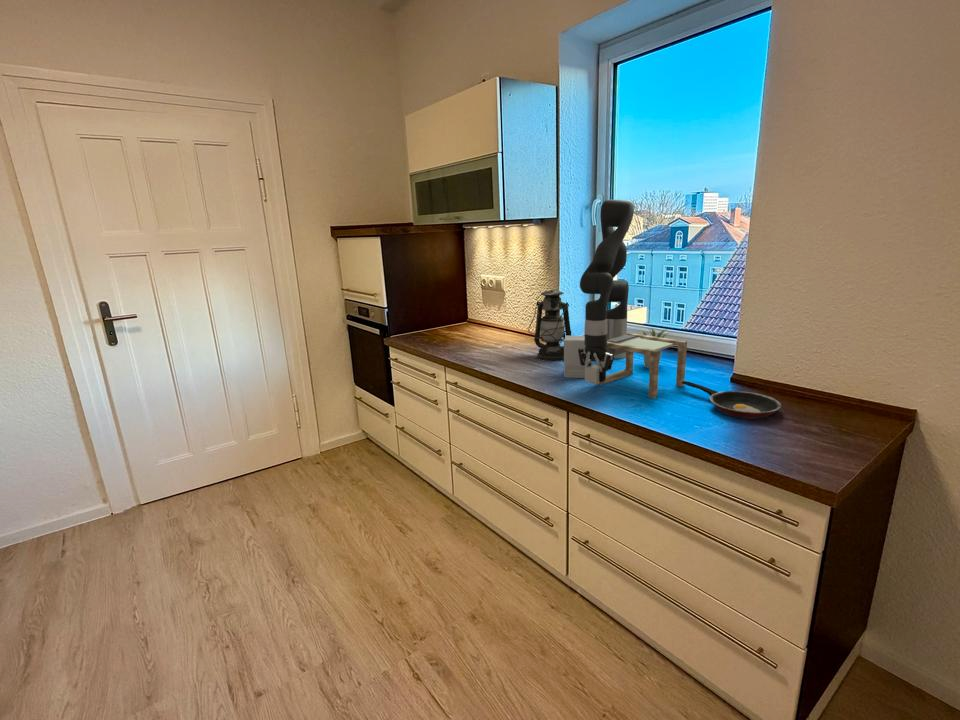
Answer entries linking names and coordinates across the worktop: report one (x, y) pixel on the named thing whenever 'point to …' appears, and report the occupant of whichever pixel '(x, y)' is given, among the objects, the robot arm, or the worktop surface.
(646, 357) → the house plant
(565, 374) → the supplement box
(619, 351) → the trapdoor
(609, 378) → the frame
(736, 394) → the frying pan
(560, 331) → the lantern
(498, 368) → the worktop surface
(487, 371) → the worktop surface
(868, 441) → the worktop surface
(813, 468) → the worktop surface
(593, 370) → the cube
